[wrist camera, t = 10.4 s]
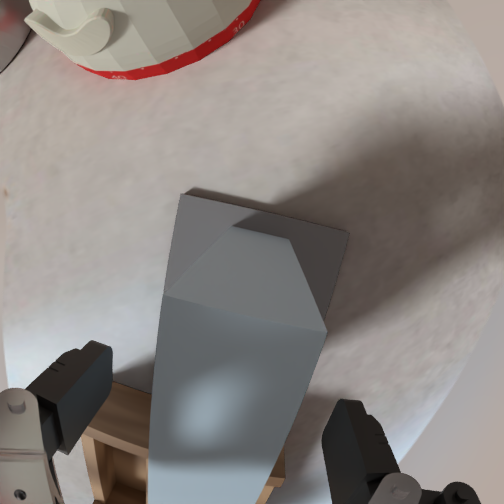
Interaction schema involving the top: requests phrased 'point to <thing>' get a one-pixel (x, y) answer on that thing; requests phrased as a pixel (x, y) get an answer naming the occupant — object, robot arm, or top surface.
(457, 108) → the top surface
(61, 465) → the top surface
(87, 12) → the kitchen timer
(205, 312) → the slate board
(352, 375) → the top surface
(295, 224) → the mat
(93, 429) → the rack
